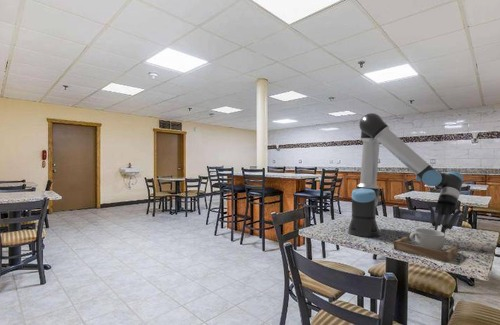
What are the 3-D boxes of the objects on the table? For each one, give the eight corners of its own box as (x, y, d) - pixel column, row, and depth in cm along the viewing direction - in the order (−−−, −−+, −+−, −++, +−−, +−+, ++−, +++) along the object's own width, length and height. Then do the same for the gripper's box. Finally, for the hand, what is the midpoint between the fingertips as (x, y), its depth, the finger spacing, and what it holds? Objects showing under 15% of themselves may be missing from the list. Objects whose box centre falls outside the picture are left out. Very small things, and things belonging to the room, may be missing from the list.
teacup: (436, 246, 120) (435, 228, 120) (450, 254, 109) (450, 235, 109) (403, 245, 122) (403, 227, 122) (414, 253, 111) (414, 233, 111)
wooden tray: (406, 243, 124) (406, 236, 124) (457, 254, 109) (457, 246, 109) (393, 249, 116) (393, 241, 116) (447, 262, 100) (447, 253, 100)
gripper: (466, 205, 126) (457, 247, 115) (434, 202, 136) (423, 241, 125) (463, 194, 122) (453, 237, 112) (430, 192, 132) (418, 231, 122)
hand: (437, 239), depth 118 cm, fingers closed
